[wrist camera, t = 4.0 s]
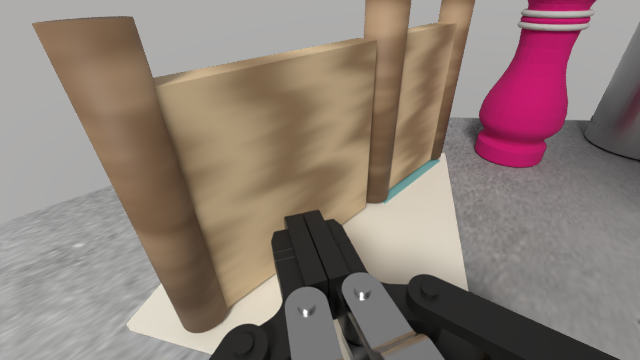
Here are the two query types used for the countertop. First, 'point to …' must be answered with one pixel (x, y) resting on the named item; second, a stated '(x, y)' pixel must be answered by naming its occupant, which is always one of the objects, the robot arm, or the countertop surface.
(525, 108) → the pepper mill
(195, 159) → the swing panel
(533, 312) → the countertop surface
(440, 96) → the fixed panel
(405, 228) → the mat
